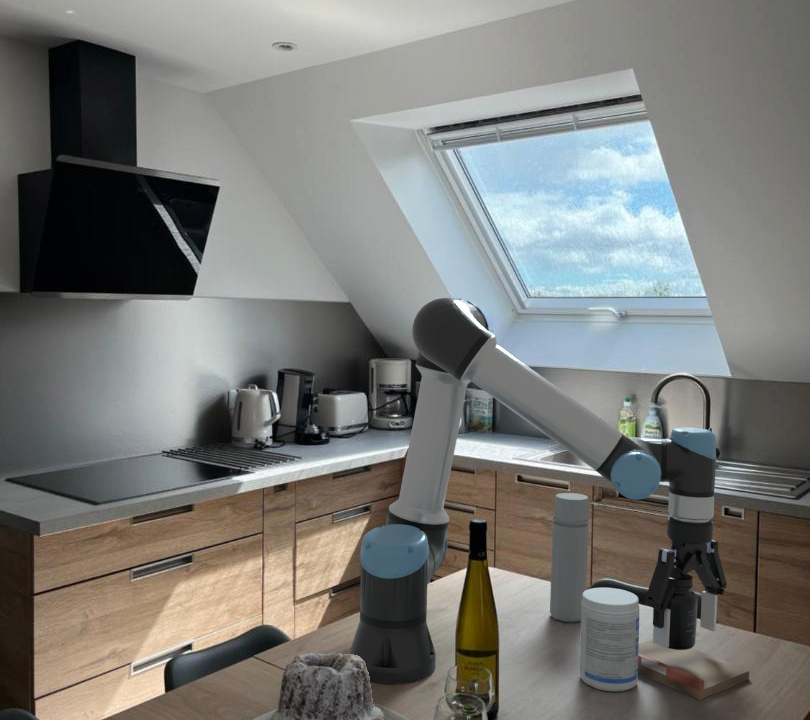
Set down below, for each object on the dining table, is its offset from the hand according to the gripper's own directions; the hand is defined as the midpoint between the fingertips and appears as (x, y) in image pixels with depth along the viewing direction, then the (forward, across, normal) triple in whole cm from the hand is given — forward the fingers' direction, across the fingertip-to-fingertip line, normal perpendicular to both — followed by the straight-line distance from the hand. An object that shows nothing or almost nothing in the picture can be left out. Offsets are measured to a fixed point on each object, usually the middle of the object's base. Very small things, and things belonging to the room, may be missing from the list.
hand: (685, 636), depth 147 cm
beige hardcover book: (+6, +2, 0) cm, 6 cm away
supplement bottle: (+1, +3, 0) cm, 3 cm away
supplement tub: (+6, +15, -4) cm, 17 cm away
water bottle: (+6, -2, -29) cm, 30 cm away
